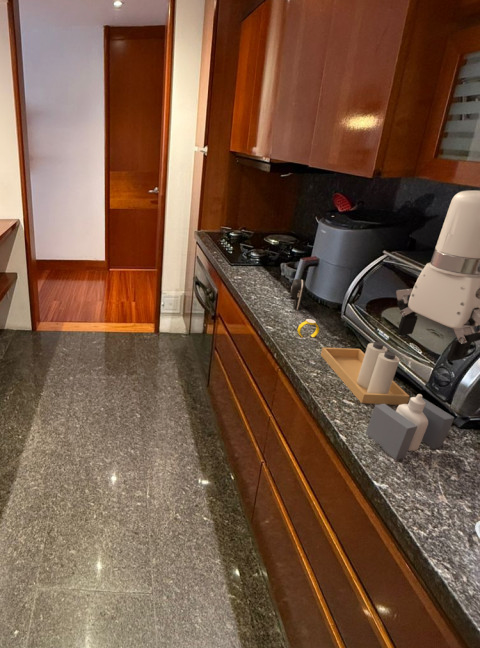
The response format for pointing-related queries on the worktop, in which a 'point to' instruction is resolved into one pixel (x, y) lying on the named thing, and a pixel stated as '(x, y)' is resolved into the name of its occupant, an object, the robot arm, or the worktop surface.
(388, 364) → the white bottles
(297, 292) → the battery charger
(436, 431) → the grey rectangular blocks
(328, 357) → the tray
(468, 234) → the robot arm
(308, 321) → the watch
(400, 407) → the eye dropper bottle
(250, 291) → the worktop surface
